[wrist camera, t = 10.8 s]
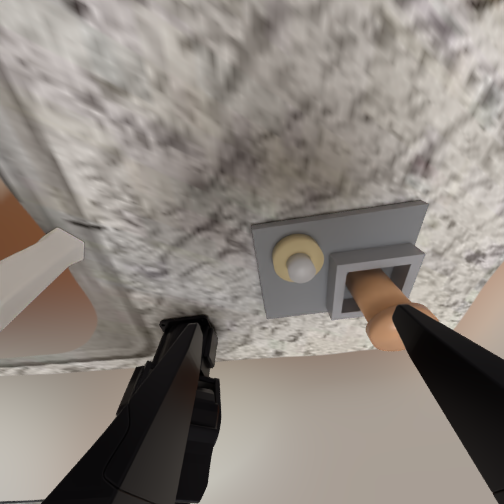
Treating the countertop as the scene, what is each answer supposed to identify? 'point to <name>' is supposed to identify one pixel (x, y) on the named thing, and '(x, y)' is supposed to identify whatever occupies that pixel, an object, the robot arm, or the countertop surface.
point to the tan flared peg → (380, 306)
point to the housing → (335, 257)
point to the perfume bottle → (35, 271)
